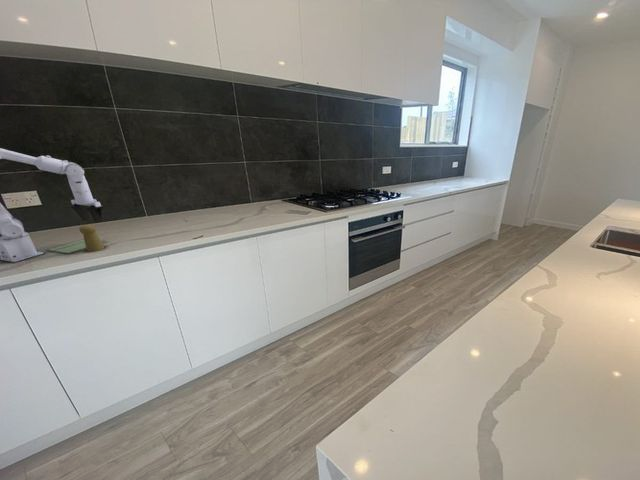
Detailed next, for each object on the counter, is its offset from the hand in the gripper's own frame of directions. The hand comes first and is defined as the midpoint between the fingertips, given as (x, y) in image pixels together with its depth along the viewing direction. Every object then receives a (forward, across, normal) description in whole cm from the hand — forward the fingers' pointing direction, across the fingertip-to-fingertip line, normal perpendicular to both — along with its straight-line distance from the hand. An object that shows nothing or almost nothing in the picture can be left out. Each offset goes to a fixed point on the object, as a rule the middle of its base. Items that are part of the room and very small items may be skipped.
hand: (92, 220), depth 137 cm
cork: (+10, -7, +7) cm, 15 cm away
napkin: (+10, +4, +7) cm, 13 cm away
